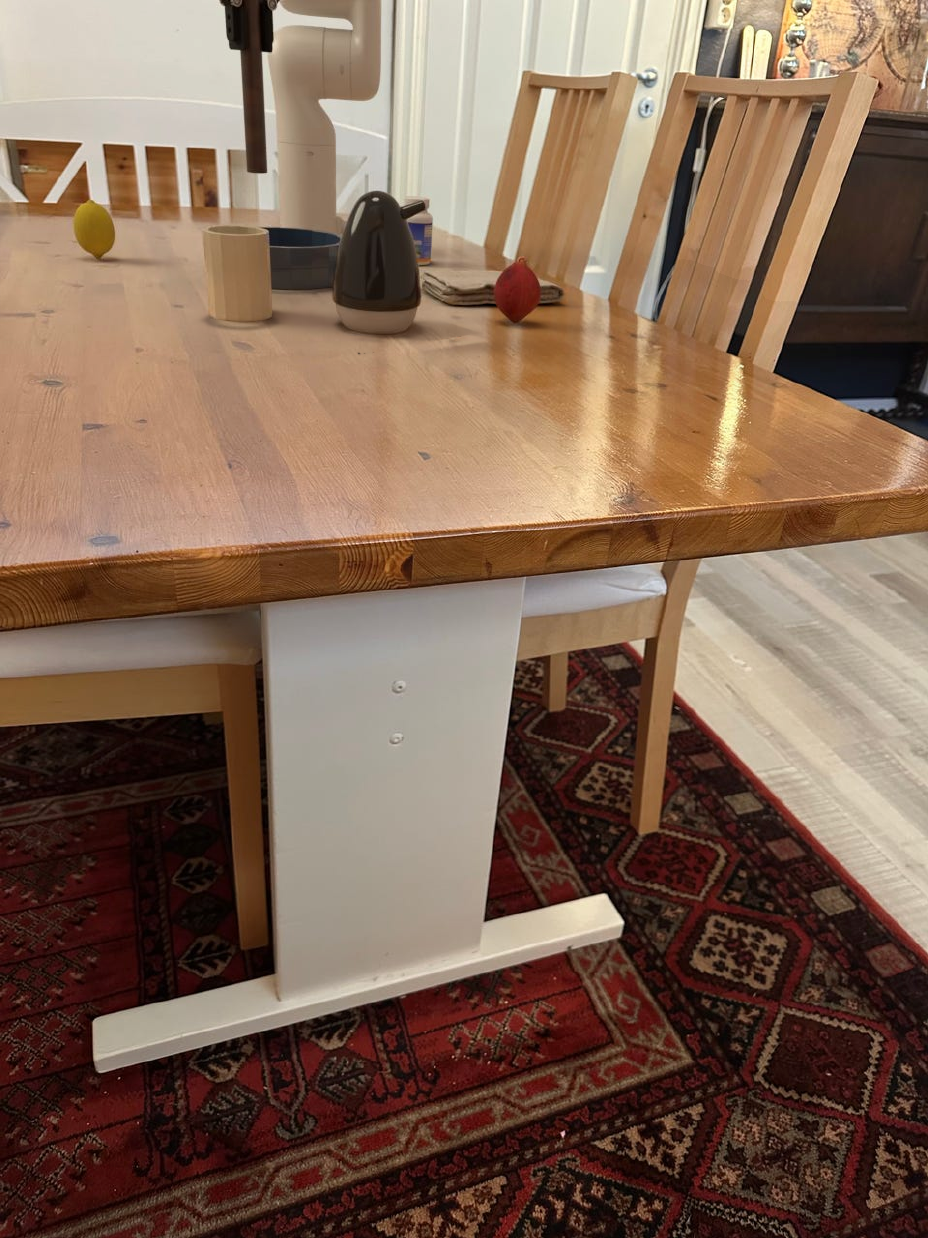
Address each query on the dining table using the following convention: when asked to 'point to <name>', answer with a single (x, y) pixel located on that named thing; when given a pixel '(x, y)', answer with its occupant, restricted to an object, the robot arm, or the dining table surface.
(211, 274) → the crock
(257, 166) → the stick
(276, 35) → the robot arm
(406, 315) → the pump dispenser
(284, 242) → the bowl
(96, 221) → the lemon
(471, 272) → the washcloth
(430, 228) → the pill bottle
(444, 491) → the dining table surface
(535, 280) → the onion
